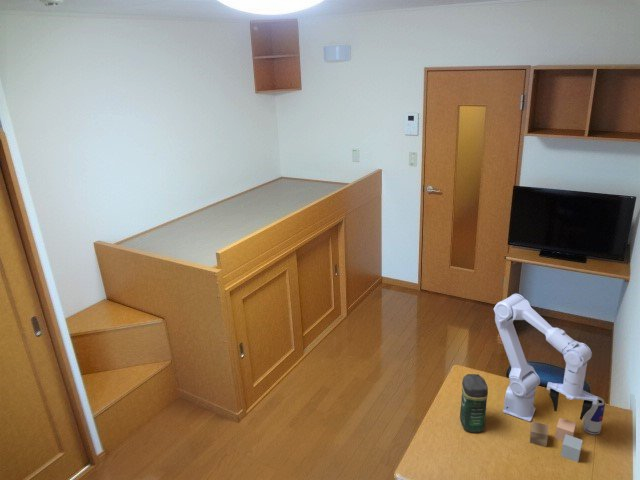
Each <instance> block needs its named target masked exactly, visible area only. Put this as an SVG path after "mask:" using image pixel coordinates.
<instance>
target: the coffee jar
mask: <svg viewBox="0 0 640 480" xmlns="http://www.w3.org/2000/svg"><path fill="white" fill-rule="evenodd" d="M488 394H489V387H488V384H487V382H486V380H485V378H483V376H481V375H480V374H478V373H477V374H476V373H470V374H469V373H468V374H465V376H463V378H462V383H461V402H460V411H459V419H460V420H459V421H460V423H461V426H462V428H463V429H464V431H467V432H470V433H481V432H482V431H484V430H485V426H486V412H487V404H488V403H487V402H488V401H487V400H488Z"/></svg>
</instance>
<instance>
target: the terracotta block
mask: <svg viewBox="0 0 640 480" xmlns="http://www.w3.org/2000/svg"><path fill="white" fill-rule="evenodd" d="M576 426H577V423H576V422H574V421H570V420H568V419H565V418H561V417H559V419H558V421H557V425H556V430H555V434H554V435H555V436H554V439H556V440H558V441H561V442H563V441H564V438H565V434H567V435H570V436H572V437H575V431H576Z"/></svg>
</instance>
